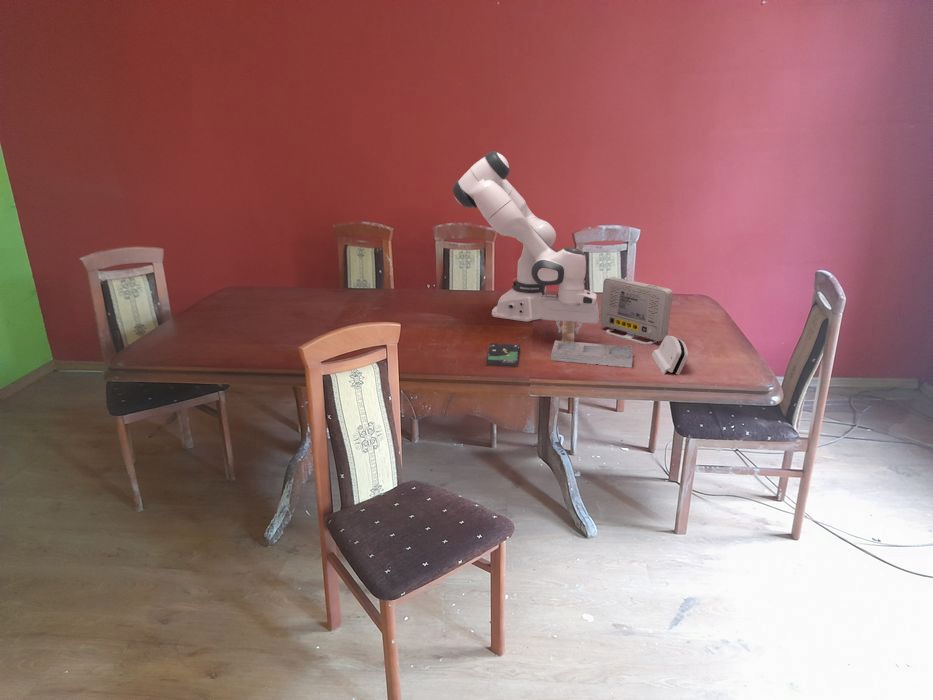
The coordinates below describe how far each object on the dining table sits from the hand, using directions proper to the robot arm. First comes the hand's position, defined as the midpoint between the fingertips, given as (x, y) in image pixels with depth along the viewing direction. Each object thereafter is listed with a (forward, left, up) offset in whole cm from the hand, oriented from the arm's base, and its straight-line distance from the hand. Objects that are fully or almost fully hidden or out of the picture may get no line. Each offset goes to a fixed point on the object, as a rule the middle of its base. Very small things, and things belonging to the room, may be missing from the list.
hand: (568, 332), depth 211 cm
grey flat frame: (+9, -11, -4) cm, 15 cm away
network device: (+22, +13, -4) cm, 26 cm away
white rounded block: (+34, -11, -4) cm, 36 cm away
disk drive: (-20, -18, -5) cm, 27 cm away
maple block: (0, 0, -4) cm, 4 cm away
